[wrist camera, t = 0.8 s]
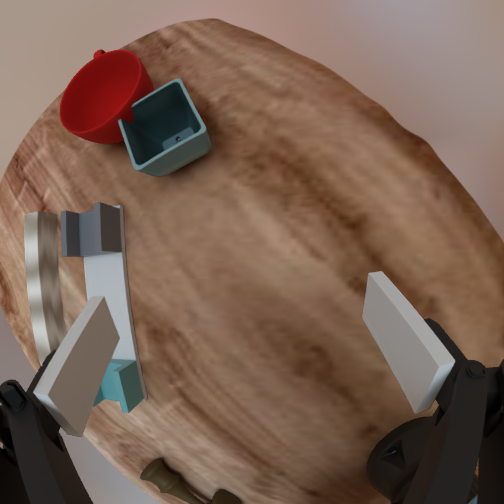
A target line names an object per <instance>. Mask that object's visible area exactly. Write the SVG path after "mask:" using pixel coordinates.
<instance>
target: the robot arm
mask: <svg viewBox="0 0 504 504" xmlns="http://www.w3.org/2000/svg"><path fill="white" fill-rule="evenodd" d="M362 319H363V321H364V322H365V324H366V326H367V327H368V329H369V331H370V333H371V334H372V336H373V338H374V339H375V341H376V343H377V345H378V346H379V348H380V350H381V352H382V353H383V355H384V357H385V359H386V361H387V362H388V364H389V366H390V368H391V370H392V371H393V373H394V375H395V377H396V379H397V381H398V382H399V384H400V386H401V388H402V390H403V392H404V394H405V396H406V398H407V399H408V401H409V403H410V405H411V407H412V409H413V411H414V413H415V414H416V413H419V412H421V411H424V410H427V409H429V408H431V406H432V404H433V403H434V401H435V399H436V401H437V402H438V404H439V406H438V408H437V409H436V411H435V413H434V414H433V416H432V417H423V418H419V419H415V420H412V421H410V422H407V423H405V424H403V425H401V426H400V427H398V428H396V429H395V430H393V431H392V432H391V433H389V434H388V435H387V436H386V437H385V438H384V439H382V440H381V442H380V443H379V444H378V445H377V446H376V447H375V449H374V450H373V452H372V453H371V455H370V457H369V459H368V463H367V474H368V477H369V480H370V482H371V484H372V485H373V487H374V488H375V489H377V490H378V491H379V492H380V493H381V494H382V495H384V496H385V497H386V498H387V499H388V500H390V501H391V503H392V504H504V359H503V361H502V362H501V364H500V366H499V367H492V368H486V367H485V366H484V365H483V364H482V363H480V362H478V361H475V360H467V358H466V357H465V356H464V355H463V353H462V352H461V351H460V350H459V348H458V347H457V346H456V344H455V343H454V342H453V341H452V340H451V339H450V337H449V336H448V335H447V333H445V331H444V330H443V329H442V327H441V326H440V325H439V324H438V323H436V322H435V321H433V320H432V319H430V318H428V319H424V320H423V319H422V317H421V316H420V315H419V314H418V312H417V311H416V310H415V309H414V308H413V306H412V305H411V304H410V303H409V302H408V301H407V299H406V298H405V297H404V296H403V295H402V293H401V292H400V291H399V290H398V289H397V288H396V287H395V285H394V284H393V283H392V282H391V281H390V280H389V279H388V277H387V276H386V275H385V274H384V273H383V272H382V271H380V272H372V273H369V274H368V281H367V289H366V296H365V302H364V309H363V315H362ZM119 340H120V336H119V334H118V331H117V329H116V326H115V324H114V321H113V319H112V316H111V313H110V310H109V308H108V305H107V302H106V299H105V296H92V297H91V298H90V300H89V301H88V303H87V304H86V306H85V307H84V309H83V310H82V312H81V313H80V315H79V316H78V318H77V319H76V321H75V322H74V324H73V325H72V327H71V328H70V330H69V332H68V333H67V335H66V336H65V338H64V339H63V341H62V343H61V344H60V346H59V348H58V349H57V350H55V349H54V350H53V351H52V352H51V353H50V354H49V355H48V356H47V357H46V358H45V360H44V362H43V363H42V366H41V367H40V369H39V370H38V372H37V374H36V375H35V377H34V379H33V381H32V383H31V384H30V386H29V388H28V390H27V392H25V391H24V389H23V388H22V387H21V385H20V384H19V382H17V381H16V380H8V381H6V382H4V383H2V384H1V386H0V402H1V403H2V405H0V442H1V443H3V449H2V448H1V447H0V504H93V502H92V501H91V498H90V497H89V495H88V493H87V491H86V489H85V487H84V485H83V483H82V481H81V479H80V477H79V476H78V473H77V471H76V469H75V467H74V465H73V462H72V460H71V458H70V456H69V453H68V451H67V448H66V446H65V444H64V441H63V438H62V436H61V435H60V433H59V429H60V427H61V428H62V429H63V430H64V431H65V432H66V433H67V434H68V435H72V436H78V437H82V435H83V432H84V429H85V426H86V424H87V421H88V418H89V415H90V412H91V409H92V407H93V404H94V401H95V399H96V396H97V393H98V391H99V388H100V386H101V383H102V380H103V378H104V375H105V373H106V370H107V368H108V366H109V363H110V361H111V358H112V356H113V354H114V351H115V349H116V347H117V344H118V342H119ZM478 460H479V473H478V477H477V475H476V474H475V470H476V465H477V461H478Z"/></svg>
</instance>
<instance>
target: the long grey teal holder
mask: <svg viewBox="0 0 504 504" xmlns="http://www.w3.org/2000/svg"><path fill="white" fill-rule="evenodd" d="M61 245H62V257H84V269H85V280H86V290H87V299H88V301H89V300H90V298H91V297H92V296H105V299H106V302H107V305H108V308H109V310H110V313H111V316H112V319H113V321H114V324H115V326H116V329H117V331H118V334H119V336H120V340H119V342H118V344H117V347H116V349H115V351H114V354H113V356H112V358H111V361H110V363H109V366H108V368H107V370H106V373H105V375H104V378H103V380H102V383H101V386H100V388H99V391H98V393H97V396H96V399H95V401H94V404H93V407H94V406H96V405H97V404H98V403H100V402H101V401H102V400H104V399H107V400H113V401H120V405H121V408H122V412H126V413H129V412H130V411H131V410H132V409H133V408H134V407H136V406H137V405H138V404H139V403H140V402H141V401H146V400H147V399H148V398H147V393H146V389H145V385H144V380H143V375H142V370H141V365H140V360H139V355H138V349H137V343H136V337H135V331H134V325H133V318H132V311H131V303H130V295H129V286H128V276H127V265H126V252H125V236H124V213H123V206H121V205H118V206H110V205H107V204H104V203H95V204H94V210H93V211H88V212H84V213H75V212H70V211H62V212H61Z"/></svg>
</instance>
